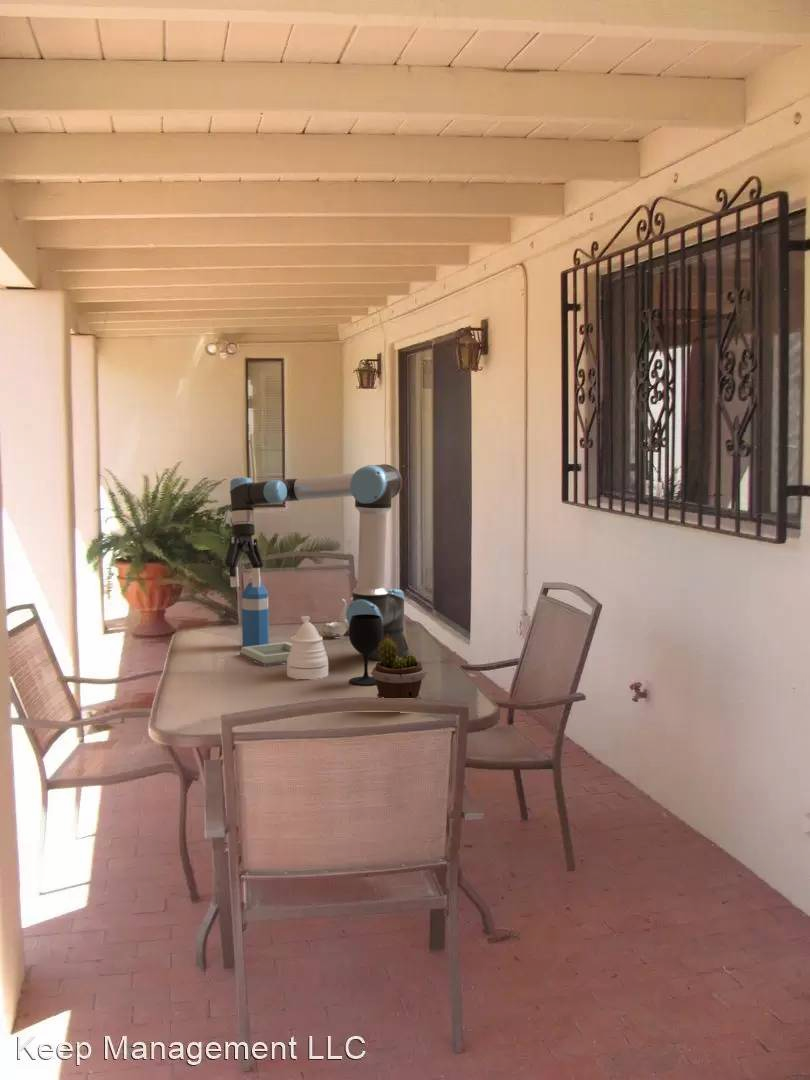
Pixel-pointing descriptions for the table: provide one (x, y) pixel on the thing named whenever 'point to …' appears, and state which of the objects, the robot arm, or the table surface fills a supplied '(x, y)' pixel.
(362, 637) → the wine glass
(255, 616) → the water bottle
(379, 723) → the table surface
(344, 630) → the chinaware
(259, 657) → the pale green tray
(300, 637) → the honey pot
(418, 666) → the flowerpot
